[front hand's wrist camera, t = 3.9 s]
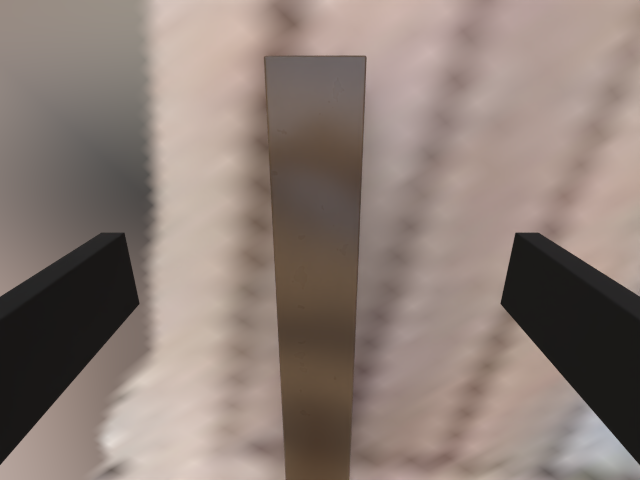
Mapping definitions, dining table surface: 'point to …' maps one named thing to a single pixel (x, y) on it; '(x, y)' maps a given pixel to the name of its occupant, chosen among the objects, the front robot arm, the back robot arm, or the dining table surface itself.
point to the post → (316, 251)
